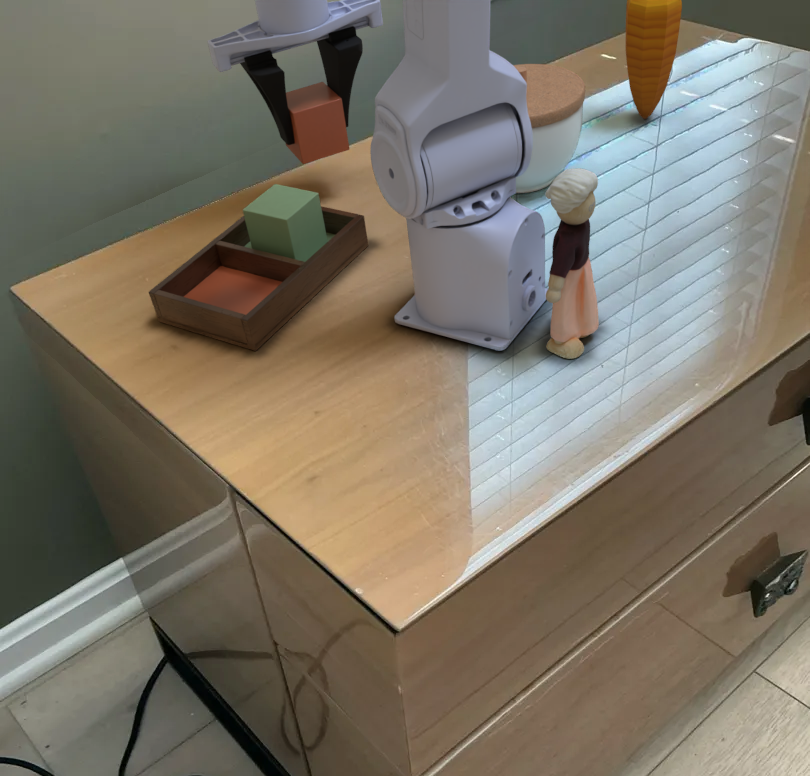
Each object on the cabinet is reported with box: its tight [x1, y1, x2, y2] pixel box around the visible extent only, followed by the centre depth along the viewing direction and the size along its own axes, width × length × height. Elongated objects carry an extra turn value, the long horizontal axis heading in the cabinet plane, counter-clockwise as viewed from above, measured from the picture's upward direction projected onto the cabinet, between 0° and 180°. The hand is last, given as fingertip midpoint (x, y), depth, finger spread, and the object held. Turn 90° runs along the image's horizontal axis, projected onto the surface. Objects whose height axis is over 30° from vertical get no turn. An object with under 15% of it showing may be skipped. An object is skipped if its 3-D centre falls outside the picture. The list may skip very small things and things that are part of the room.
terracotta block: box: [285, 81, 350, 165], centre depth 83 cm, size 4×4×4 cm
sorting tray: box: [148, 205, 369, 351], centre depth 78 cm, size 10×16×3 cm, turn 149°
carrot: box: [625, 0, 683, 120], centre depth 85 cm, size 5×5×15 cm
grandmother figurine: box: [544, 167, 600, 360], centre depth 65 cm, size 8×4×13 cm, turn 168°
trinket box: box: [512, 63, 586, 194], centre depth 82 cm, size 11×11×9 cm
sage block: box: [242, 183, 328, 262], centre depth 78 cm, size 4×4×4 cm
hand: (315, 132), depth 84 cm, fingers closed on terracotta block, 4 cm apart
